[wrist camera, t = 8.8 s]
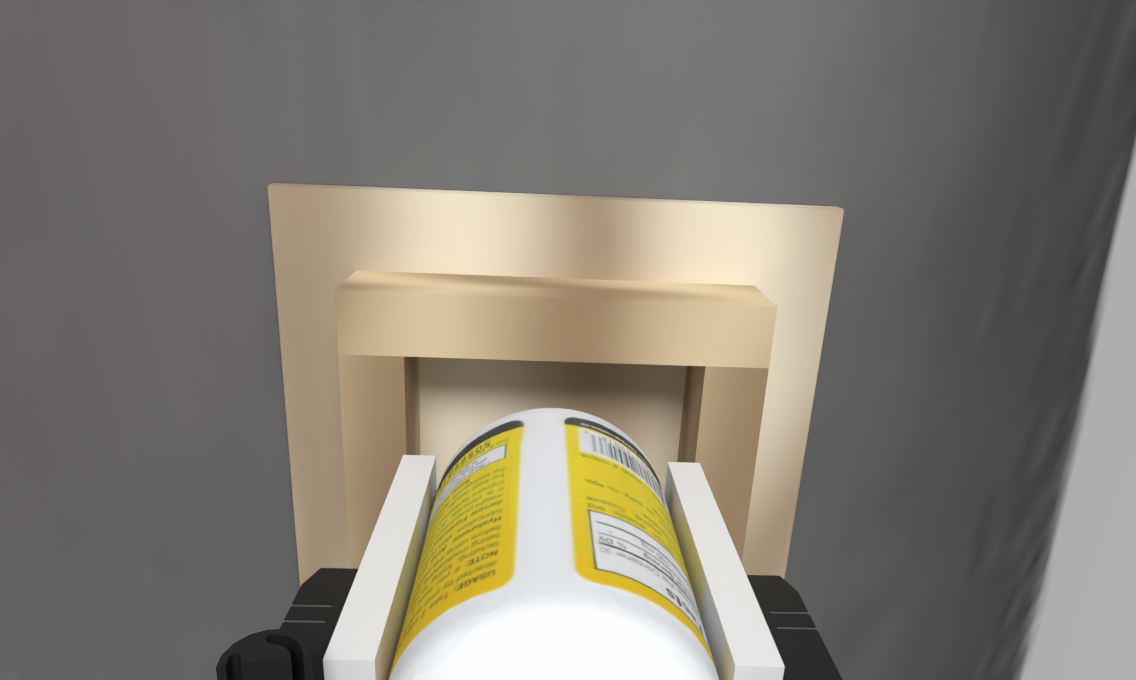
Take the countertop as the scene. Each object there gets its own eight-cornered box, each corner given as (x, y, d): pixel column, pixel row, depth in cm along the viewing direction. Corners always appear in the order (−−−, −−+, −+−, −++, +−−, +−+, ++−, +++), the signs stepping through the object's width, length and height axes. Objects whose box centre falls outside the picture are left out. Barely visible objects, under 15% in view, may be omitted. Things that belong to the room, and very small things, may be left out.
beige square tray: (311, 649, 23) (283, 715, 20) (274, 182, 18) (234, 196, 16) (765, 656, 23) (790, 721, 21) (836, 206, 19) (878, 222, 16)
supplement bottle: (443, 600, 19) (339, 1108, 9) (431, 401, 17) (289, 777, 8) (658, 597, 19) (766, 1093, 9) (668, 400, 17) (813, 767, 8)
